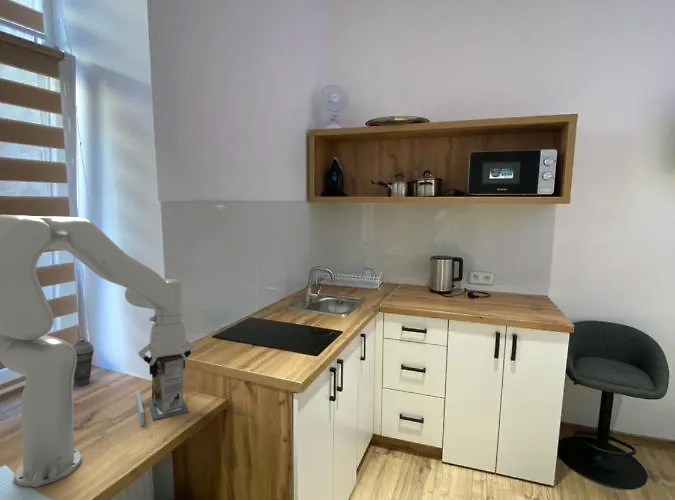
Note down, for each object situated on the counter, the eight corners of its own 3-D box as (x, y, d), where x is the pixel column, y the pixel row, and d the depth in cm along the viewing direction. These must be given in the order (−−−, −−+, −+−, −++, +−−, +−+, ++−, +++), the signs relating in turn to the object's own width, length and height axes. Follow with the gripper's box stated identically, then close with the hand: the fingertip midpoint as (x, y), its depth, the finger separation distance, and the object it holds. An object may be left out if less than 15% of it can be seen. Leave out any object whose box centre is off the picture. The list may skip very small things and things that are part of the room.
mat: (188, 412, 116) (188, 410, 116) (153, 420, 111) (153, 418, 111) (180, 395, 127) (180, 393, 127) (148, 401, 122) (148, 400, 122)
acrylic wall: (143, 425, 108) (143, 412, 108) (140, 426, 108) (140, 412, 107) (138, 401, 121) (138, 389, 121) (135, 402, 121) (135, 390, 121)
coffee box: (150, 401, 119) (151, 352, 118) (171, 395, 124) (171, 348, 123) (162, 412, 113) (163, 360, 112) (183, 405, 118) (184, 355, 117)
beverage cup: (85, 388, 129) (84, 332, 128) (64, 387, 129) (63, 331, 128) (98, 379, 136) (98, 326, 135) (79, 378, 137) (78, 325, 135)
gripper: (137, 325, 109) (137, 383, 110) (199, 318, 118) (198, 372, 119) (135, 318, 115) (135, 374, 116) (194, 313, 124) (193, 365, 126)
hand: (167, 373), depth 118 cm, fingers closed on coffee box, 7 cm apart
